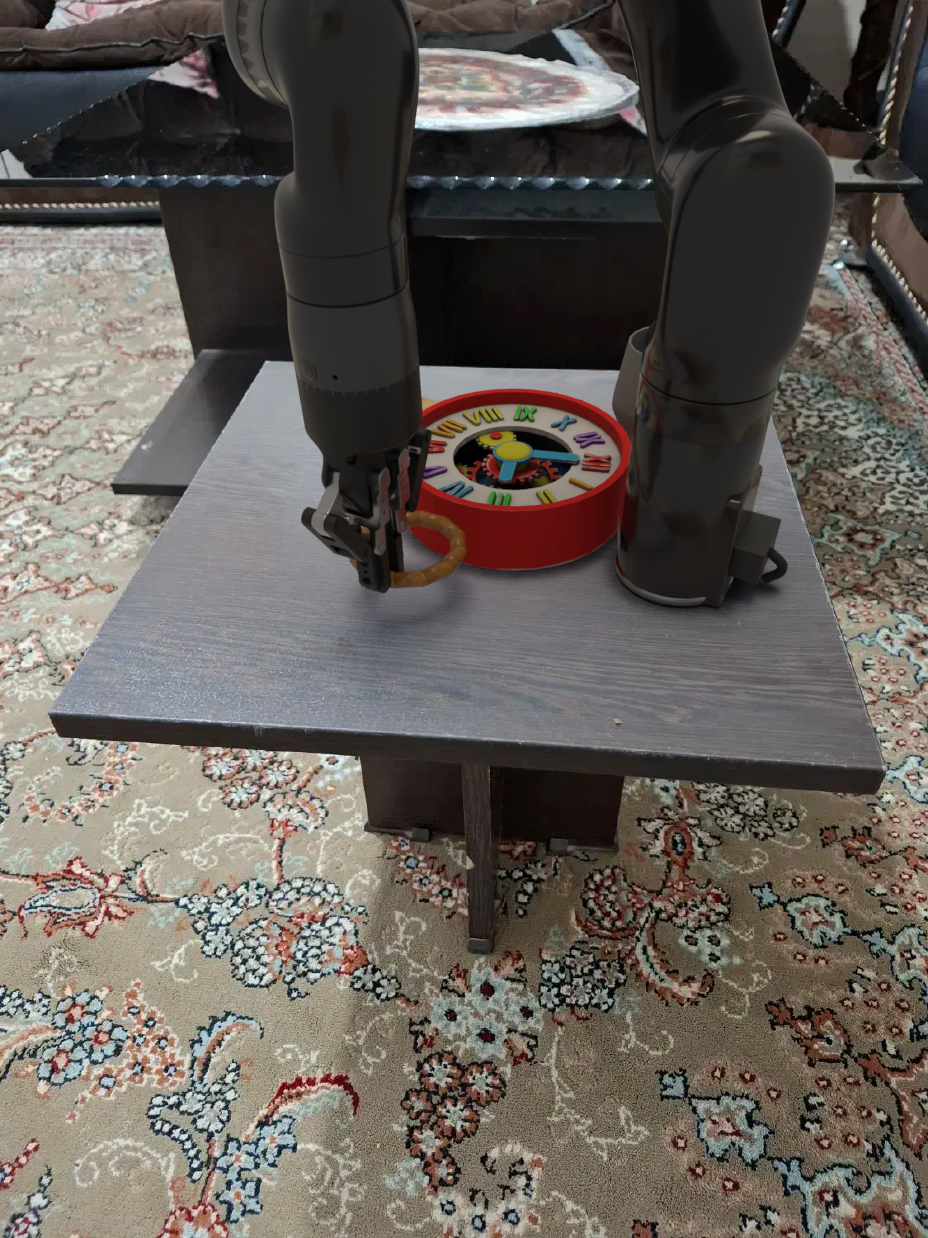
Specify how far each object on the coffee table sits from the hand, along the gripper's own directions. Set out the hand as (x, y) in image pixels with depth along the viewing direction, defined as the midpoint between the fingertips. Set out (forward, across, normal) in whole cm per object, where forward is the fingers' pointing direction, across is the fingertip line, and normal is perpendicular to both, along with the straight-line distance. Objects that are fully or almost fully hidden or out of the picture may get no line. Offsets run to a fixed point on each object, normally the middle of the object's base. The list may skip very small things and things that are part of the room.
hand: (383, 579), depth 65 cm
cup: (+5, +35, -10) cm, 37 cm away
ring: (0, +4, 0) cm, 4 cm away
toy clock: (+5, +19, -2) cm, 20 cm away
